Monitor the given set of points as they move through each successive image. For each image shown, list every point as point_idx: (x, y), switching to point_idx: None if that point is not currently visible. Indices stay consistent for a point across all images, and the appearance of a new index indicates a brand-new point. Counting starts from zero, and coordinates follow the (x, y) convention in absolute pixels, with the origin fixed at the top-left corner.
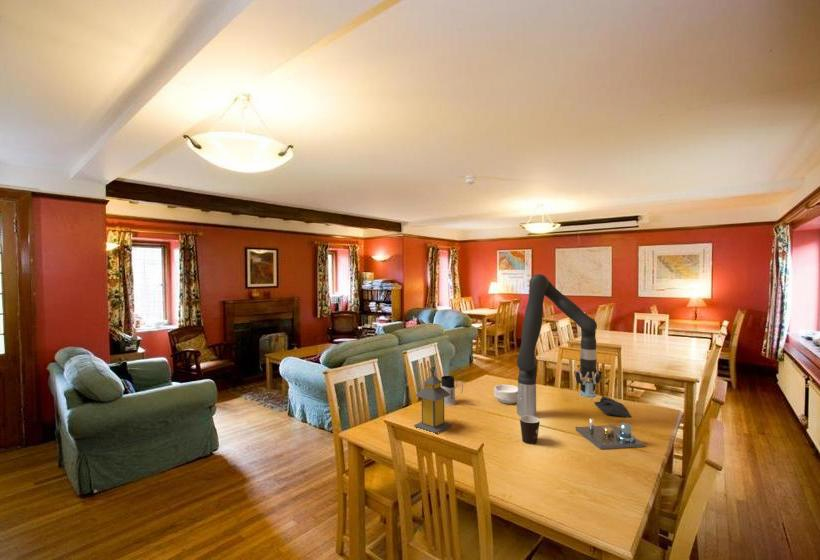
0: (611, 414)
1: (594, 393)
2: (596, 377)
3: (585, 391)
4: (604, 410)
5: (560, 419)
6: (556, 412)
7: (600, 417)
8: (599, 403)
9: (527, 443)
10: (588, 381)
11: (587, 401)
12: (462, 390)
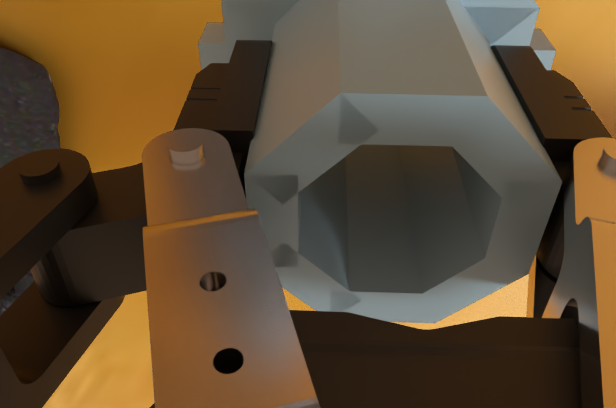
0: (4, 49)
1: (239, 24)
2: (23, 369)
3: (484, 40)
4: (50, 125)
5: (580, 38)
6: None
7: (139, 29)
8: (34, 280)
9: None
10: (318, 291)
11: (109, 328)
12: None
